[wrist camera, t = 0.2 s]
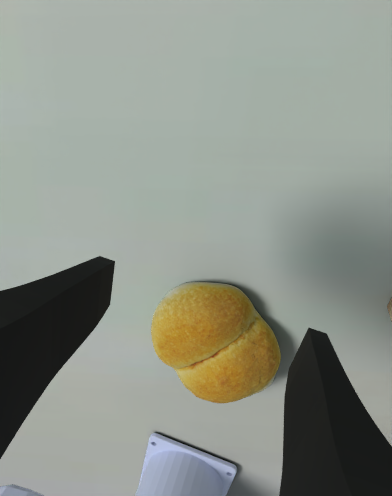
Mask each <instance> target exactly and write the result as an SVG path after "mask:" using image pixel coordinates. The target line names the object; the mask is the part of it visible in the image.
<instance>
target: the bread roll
mask: <svg viewBox="0 0 392 496" xmlns="http://www.w3.org/2000/svg"><path fill="white" fill-rule="evenodd" d="M151 335H152V341H153V345H154V349H155V352H156V354H157V355H158V357H159V358H160V359H161V360H162V361H163V362H164V363H165V364H167V365H168V366H171V367H173V368H174V370H175V371H176V372H177V374H178V376H179V378H180V380H181V381H182V383H183V384H184V385H185V387H186V388H187V389H189V390H190V391H191V392H192V393H193V394H194V395H195V396H196V397H199V398H201V399H203V400H207V401H211V402H215V403H228V402H233V401H237V400H240V399H242V398H245V397H248V396H251V395H253V394H255V393H258V392H261V391H263V390H264V389H265V388H267V387H268V386H269V385H271V384H272V382H273V381H274V378H275V374H276V372H277V370H278V368H279V364H280V360H281V354H280V348H279V345H278V342H277V339H276V337H275V335H274V333H273V331H272V329H271V328H270V327H269V325H268V324H267V323H266V322H265V321H264V320H263V319H262V317H261V316H260V315H259V313H258V312H257V311H256V310H255V308H254V306H253V304H252V303H251V301H250V300H249V299H248V297H247V296H246V295H245V294H244V293H243V292H242V291H241V290H239V289H238V288H237V287H234V286H232V285H228V284H221V283H209V282H188V283H184V284H181V285H179V286H177V287H175V288H173V289H172V290H170V291H169V292H168V293H167V294H166V296H165V297H164V298H163V299H162V301H161V302H160V303H159V305H158V307H157V308H156V310H155V313H154V315H153V320H152V326H151Z"/></svg>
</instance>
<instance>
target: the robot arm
mask: <svg viewBox="0 0 392 496" xmlns="http://www.w3.org/2000/svg"><path fill="white" fill-rule="evenodd" d="M114 265H115V261H112V260H109V259H107V258H104V257H101V256H99V257H96V258H94V259H91V260H89V261H86V262H84V263H81V264H79V265H76V266H74V267H71V268H69V269H66V270H64V271H61V272H59V273H56V274H53V275H51V276H48V277H45V278H42V279H39V280H36V281H33V282H30V283H27V284H24V285H21V286H18V287H14V288H10V289H6V290H2V291H0V459H1V457H2V455H3V454H4V452H5V451H6V449H7V447H8V446H9V444H10V442H11V441H12V439H13V438H14V436H15V434H16V433H17V431H18V430H19V428H20V426H21V425H22V423H23V422H24V420H25V419H26V417H27V416H28V414H29V413H30V411H31V410H32V408H33V407H34V405H35V403H36V402H37V401H38V399H39V398H40V396H41V395H42V393H43V392H44V390H45V389H46V387H47V386H48V384H49V383H50V382H51V380H52V379H53V378H54V376H55V375H56V374H57V373H58V371H59V370H60V369H61V368H62V366H63V365H64V364H65V363H66V362H67V361H68V359H69V358H70V357H71V356H72V355H73V354H74V352H75V351H76V350H77V349H78V348H79V346H80V345H81V344H82V343H83V342H84V341H85V339H86V338H87V337H88V336H89V335H90V333H91V332H92V331H93V330H94V328H95V327H96V326H97V324H98V323H99V321H100V320H101V318H102V317H103V315H104V314H105V312H106V310H107V309H108V307H109V305H110V300H111V291H112V282H113V274H114ZM236 472H237V467H236V466H235V465H234V464H232V463H229V462H227V461H224V460H222V459H219V458H217V457H214V456H212V455H209V454H207V453H204V452H202V451H199V450H197V449H194V448H192V447H189V446H187V445H184V444H182V443H179V442H177V441H174V440H172V439H169V438H167V437H164V436H162V435H159V434H157V433H152V434H151V436H150V438H149V443H148V447H147V451H146V456H145V460H144V465H143V469H142V473H141V478H140V482H139V486H138V489H137V491H136V494H135V496H226V494H227V492H228V490H229V488H230V486H231V483H232V481H233V479H234V477H235V475H236ZM0 496H44V495H42V494H40V493H37V492H35V491H33V490H30V489H27V488H24V487H20V486H17V485H13V484H12V485H6V486H0ZM279 496H392V446H391V445H390V444H389V442H388V441H387V440H386V438H385V437H384V435H383V434H382V433H381V431H380V430H379V428H378V427H377V425H376V424H375V423H374V421H373V420H372V418H371V417H370V415H369V414H368V412H367V410H366V409H365V407H364V405H363V404H362V402H361V400H360V399H359V397H358V395H357V394H356V392H355V390H354V388H353V386H352V384H351V383H350V381H349V379H348V377H347V375H346V373H345V371H344V369H343V367H342V365H341V363H340V361H339V359H338V357H337V355H336V352H335V350H334V348H333V346H332V344H331V342H330V340H329V338H328V336H327V334H326V333H323V332H320V331H317V330H314V329H311V328H308V330H307V332H306V334H305V337H304V339H303V341H302V343H301V345H300V347H299V349H298V351H297V353H296V355H295V357H294V360H293V362H292V364H291V366H290V368H289V372H288V378H287V384H286V391H285V402H284V441H283V468H282V479H281V487H280V495H279Z"/></svg>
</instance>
